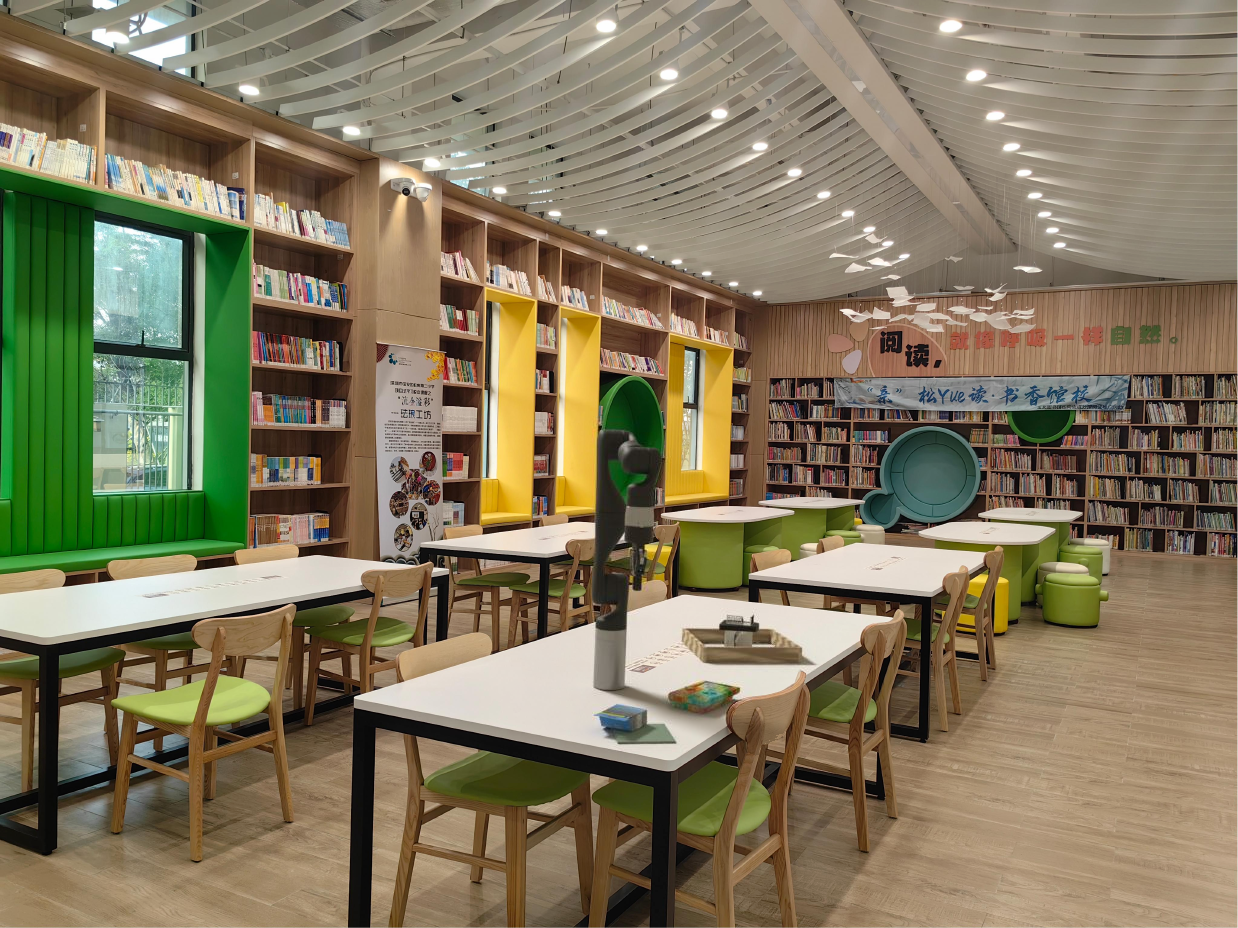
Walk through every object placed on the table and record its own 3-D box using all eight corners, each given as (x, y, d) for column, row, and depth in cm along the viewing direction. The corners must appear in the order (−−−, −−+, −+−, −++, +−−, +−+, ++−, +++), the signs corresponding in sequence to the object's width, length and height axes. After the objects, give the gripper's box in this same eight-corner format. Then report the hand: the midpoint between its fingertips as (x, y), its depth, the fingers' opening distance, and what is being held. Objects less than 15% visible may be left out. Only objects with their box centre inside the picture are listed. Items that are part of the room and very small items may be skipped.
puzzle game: (668, 690, 245) (703, 677, 262) (667, 707, 245) (703, 693, 262) (706, 698, 238) (740, 684, 255) (705, 716, 239) (739, 700, 255)
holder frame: (681, 641, 332) (682, 628, 332) (771, 642, 337) (772, 628, 337) (702, 662, 300) (703, 647, 300) (801, 662, 305) (802, 647, 305)
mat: (609, 725, 226) (609, 723, 226) (664, 724, 228) (664, 723, 228) (617, 743, 212) (617, 741, 212) (675, 742, 215) (675, 741, 215)
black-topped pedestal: (691, 655, 311) (693, 617, 311) (707, 641, 336) (708, 605, 336) (773, 664, 303) (774, 624, 303) (782, 648, 328) (784, 612, 328)
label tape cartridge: (616, 718, 231) (592, 730, 220) (616, 703, 231) (592, 714, 220) (647, 724, 227) (624, 736, 216) (647, 708, 227) (624, 720, 216)
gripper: (621, 521, 240) (618, 586, 240) (629, 525, 227) (626, 594, 227) (648, 522, 241) (646, 586, 241) (658, 526, 228) (655, 594, 228)
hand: (636, 590), depth 234 cm, fingers closed
